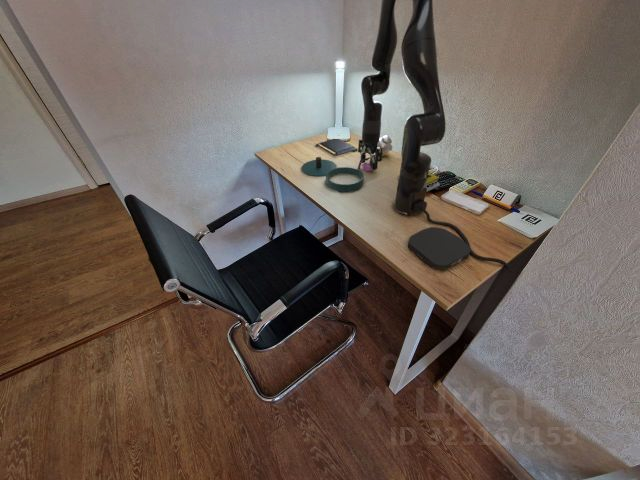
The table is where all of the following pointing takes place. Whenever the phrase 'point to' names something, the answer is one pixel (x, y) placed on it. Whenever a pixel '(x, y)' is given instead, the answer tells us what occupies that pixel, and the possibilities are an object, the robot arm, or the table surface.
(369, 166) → the purple monster toy
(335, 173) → the tin
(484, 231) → the table surface
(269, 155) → the table surface
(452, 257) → the media streaming box
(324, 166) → the tin lid
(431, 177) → the emergency button
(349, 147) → the dark notebook
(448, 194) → the phone case
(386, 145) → the ghost figurine
